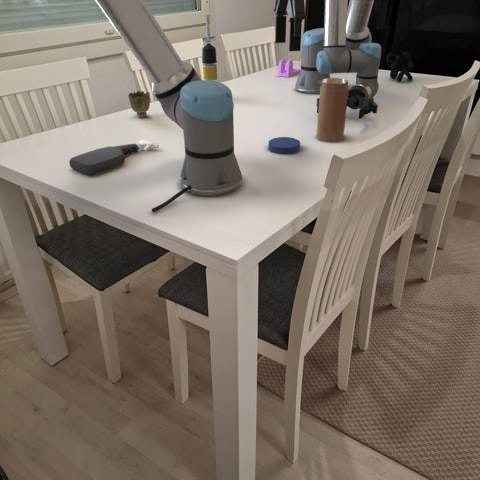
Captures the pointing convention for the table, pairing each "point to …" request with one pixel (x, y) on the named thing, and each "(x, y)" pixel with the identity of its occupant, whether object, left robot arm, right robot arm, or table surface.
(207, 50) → the black tall bottle
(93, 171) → the spray bottle
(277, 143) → the lid
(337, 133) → the jar
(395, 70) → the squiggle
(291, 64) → the bracket
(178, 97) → the left robot arm
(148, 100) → the cup
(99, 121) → the table surface
